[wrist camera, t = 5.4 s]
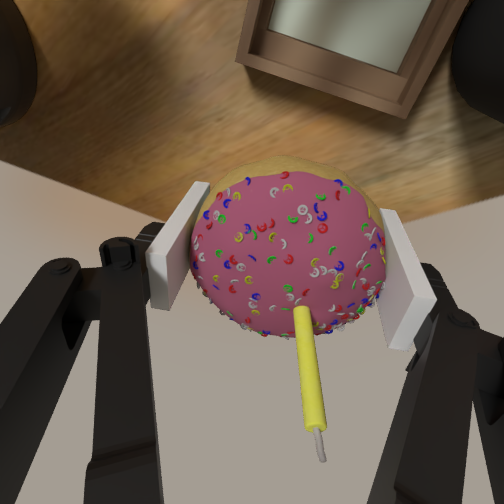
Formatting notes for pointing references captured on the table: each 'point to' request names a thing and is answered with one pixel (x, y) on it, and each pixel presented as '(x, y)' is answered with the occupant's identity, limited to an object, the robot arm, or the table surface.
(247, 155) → the table surface
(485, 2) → the coffee jar
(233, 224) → the cupcake
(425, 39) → the walled box
